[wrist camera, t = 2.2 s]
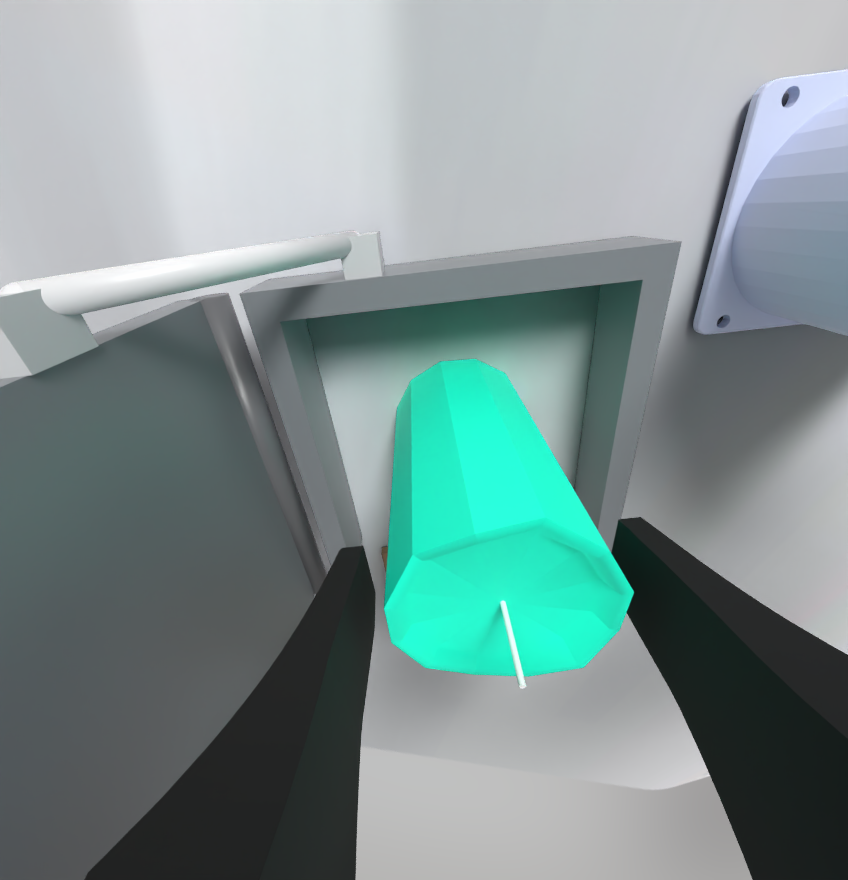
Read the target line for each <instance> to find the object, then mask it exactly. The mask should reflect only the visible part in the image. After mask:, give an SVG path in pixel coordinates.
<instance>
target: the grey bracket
mask: <svg viewBox="0 0 848 880" xmlns="http://www.w3.org/2000/svg"><path fill="white" fill-rule="evenodd" d="M680 247H681V242H680V241H671V240H663V239H654V238H645V237H636V236H630V237H622V238H613V239H605V240H596V241H588V242H579V243H571V244H562V245H554V246H545V247H537V248H528V249H520V250H512V251H503V252H495V253H486V254H478V255H469V256H461V257H452V258H444V259H435V260H427V261H418V262H410V263H402V264H393V265H385V266H384V259H383V252H382V245H381V238H380V231H378V232H370V233H362V234H359V233H358V232H356V231H345V232H339V233H332V234H326V235H319V236H312V237H306V238H299V239H293V240H286V241H280V242H273V243H267V244H260V245H254V246H247V247H241V248H234V249H227V250H221V251H214V252H208V253H201V254H195V255H188V256H182V257H175V258H169V259H162V260H155V261H149V262H142V263H136V264H129V265H123V266H116V267H110V268H103V269H97V270H90V271H84V272H77V273H70V274H64V275H57V276H51V277H44V278H38V279H31V280H25V281H18V282H13V283H9V284H7V285H5V286H4V287H3V288H2V289H1V290H0V880H84V879H85V877H86V875H87V873H88V872H89V871H90V870H91V869H92V868H93V867H94V866H95V865H96V864H97V863H98V862H99V861H100V860H101V859H102V858H103V857H104V856H105V855H106V854H107V853H108V852H109V851H110V850H111V849H112V848H113V847H114V846H115V845H116V844H117V843H118V842H119V841H120V840H121V839H122V838H123V837H124V835H125V834H126V833H127V832H128V831H129V830H130V829H131V828H132V827H133V826H134V825H135V824H136V823H137V822H138V821H139V820H140V819H141V818H142V817H143V816H144V815H145V814H146V813H147V812H148V811H149V810H150V809H151V808H152V807H153V806H154V805H155V804H156V803H157V802H158V801H159V800H160V799H161V798H162V797H163V795H164V794H165V793H166V792H167V791H168V790H169V789H170V788H171V787H172V786H173V785H174V783H175V782H176V781H177V780H178V779H179V778H180V777H181V776H182V775H183V773H184V772H185V771H186V770H187V769H188V768H189V767H190V766H191V765H192V763H193V762H194V761H195V760H196V759H197V758H198V757H199V756H200V755H201V753H202V752H203V751H204V750H205V749H206V748H207V747H208V746H209V744H210V743H211V742H212V741H213V740H214V739H215V737H216V736H217V735H218V734H219V733H220V731H221V730H222V729H223V728H224V727H225V725H226V724H227V723H228V722H229V720H230V719H231V718H232V717H233V715H234V714H235V713H236V712H237V710H238V709H239V708H240V707H241V705H242V704H243V703H244V702H245V700H246V699H247V698H248V697H249V695H250V694H251V693H252V691H253V690H254V689H255V687H256V686H257V685H258V683H259V682H260V681H261V679H262V678H263V677H264V675H265V674H266V672H267V671H268V670H269V668H270V667H271V665H272V664H273V662H274V661H275V660H276V658H277V657H278V655H279V654H280V652H281V651H282V649H283V648H284V646H285V645H286V643H287V642H288V640H289V638H290V637H291V635H292V634H293V632H294V631H295V629H296V628H297V626H298V625H299V623H300V621H301V620H302V618H303V616H304V615H305V613H306V611H307V610H308V608H309V606H310V604H311V603H312V601H313V598H314V594H316V593H317V592H318V591H319V589H320V587H321V585H322V583H323V581H324V580H325V578H326V576H327V573H326V570H325V567H324V564H323V561H322V559H321V556H320V553H319V550H318V547H317V544H316V541H315V539H314V536H313V533H312V530H311V527H310V524H309V521H308V519H307V516H306V513H305V510H304V507H303V504H302V501H301V499H300V496H299V493H298V490H297V487H296V484H295V482H294V479H293V476H292V473H291V470H290V467H289V464H288V462H287V459H286V456H285V453H284V450H283V447H282V444H281V442H280V439H279V436H278V433H277V430H276V427H275V424H274V422H273V419H272V416H271V413H270V410H269V407H268V404H267V402H266V399H265V396H264V393H263V390H262V387H261V385H260V382H259V379H258V376H257V373H256V370H255V367H254V365H253V362H252V359H251V356H250V353H249V350H248V347H247V345H246V342H245V339H244V336H243V333H242V330H241V327H240V325H239V322H238V319H237V316H236V313H235V310H234V308H233V305H232V302H231V299H230V296H229V294H228V293H219V294H211V295H205V296H201V297H196V298H193V299H189V300H181V301H176V302H174V303H171V304H169V305H166V306H164V307H161V308H159V309H156V310H153V311H151V312H148V313H146V314H143V315H141V316H138V317H135V318H133V319H130V320H128V321H125V322H123V323H120V324H118V325H115V326H112V327H110V328H107V329H105V330H102V331H100V332H97V333H95V334H92V333H91V331H90V329H89V327H88V326H87V324H86V322H85V320H84V318H83V317H82V315H81V314H83V313H87V312H92V311H97V310H101V309H106V308H111V307H115V306H120V305H125V304H129V303H134V302H139V301H143V300H148V299H153V298H157V297H162V296H167V295H171V294H176V293H181V292H185V291H190V290H195V289H199V288H204V287H209V286H213V285H218V284H223V283H227V282H232V281H237V280H241V279H246V278H251V277H255V276H260V275H265V274H269V273H274V272H279V271H283V270H288V269H293V268H297V267H302V266H307V265H311V264H316V263H321V262H325V261H330V260H335V259H339V258H341V261H342V266H343V270H342V271H334V272H325V273H317V274H308V275H300V276H292V277H283V278H275V279H268V280H266V281H264V282H262V283H260V284H258V285H256V286H254V287H252V288H250V289H248V290H246V291H244V292H242V293H240V297H241V300H242V303H243V306H244V309H245V312H246V315H247V317H248V320H249V323H250V326H251V329H252V332H253V335H254V338H255V341H256V344H257V347H258V350H259V353H260V356H261V359H262V362H263V365H264V368H265V371H266V374H267V377H268V380H269V383H270V386H271V389H272V392H273V395H274V398H275V401H276V404H277V407H278V410H279V413H280V416H281V418H282V421H283V424H284V427H285V430H286V433H287V436H288V439H289V442H290V445H291V448H292V451H293V454H294V457H295V460H296V463H297V466H298V469H299V472H300V475H301V478H302V481H303V484H304V487H305V490H306V493H307V496H308V499H309V502H310V505H311V508H312V511H313V514H314V517H315V519H316V522H317V525H318V528H319V531H320V534H321V537H322V540H323V543H324V546H325V549H326V552H327V555H328V558H329V561H330V564H331V566H332V564H333V562H334V560H335V558H336V556H337V554H338V552H339V551H340V549H341V548H345V547H355V546H361V541H362V534H361V530H360V527H359V523H358V519H357V515H356V511H355V507H354V503H353V500H352V496H351V492H350V488H349V484H348V480H347V477H346V473H345V469H344V465H343V461H342V457H341V453H340V450H339V446H338V442H337V438H336V434H335V430H334V427H333V423H332V419H331V415H330V411H329V407H328V403H327V400H326V396H325V392H324V388H323V384H322V380H321V377H320V373H319V369H318V365H317V361H316V357H315V353H314V350H313V346H312V342H311V338H310V334H309V330H308V327H307V323H306V319H307V318H315V317H324V316H333V315H341V314H350V313H359V312H367V311H376V310H385V309H393V308H402V307H411V306H419V305H428V304H437V303H445V302H454V301H463V300H471V299H480V298H489V297H497V296H506V295H515V294H523V293H532V292H541V291H550V290H558V289H567V288H576V287H584V286H593V285H601V286H600V294H599V302H598V310H597V317H596V325H595V333H594V341H593V349H592V357H591V364H590V372H589V380H588V388H587V396H586V404H585V411H584V419H583V427H582V435H581V443H580V450H579V458H578V466H577V474H576V482H575V490H574V491H575V492H576V494H577V496H578V498H579V499H580V501H581V503H582V504H583V506H584V508H585V509H586V511H587V513H588V515H589V516H590V518H591V520H592V521H593V523H594V525H595V526H596V528H597V530H598V532H599V533H600V535H601V537H602V538H603V540H604V542H605V543H606V545H607V547H608V549H609V550H610V552H612V547H613V542H614V538H615V533H616V528H617V524H618V519H621V516H622V512H623V507H624V502H625V498H626V493H627V489H628V484H629V480H630V475H631V470H632V466H633V461H634V457H635V452H636V448H637V443H638V439H639V434H640V429H641V425H642V420H643V416H644V411H645V407H646V402H647V397H648V393H649V388H650V384H651V379H652V375H653V370H654V365H655V361H656V356H657V352H658V347H659V343H660V338H661V333H662V329H663V324H664V320H665V315H666V311H667V306H668V301H669V297H670V292H671V288H672V283H673V279H674V274H675V269H676V265H677V260H678V256H679V251H680Z"/></svg>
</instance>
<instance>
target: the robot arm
mask: <svg viewBox="0 0 848 880" xmlns="http://www.w3.org/2000/svg"><path fill="white" fill-rule="evenodd" d="M786 90H787V91H788V93H789V99H788V101H787V103H786V105H785V106H784V107H783V105H782V104H781V102H782V97H783V95H784V93H785V91H786ZM722 316H723V320H722V322H721V323H720V324H718V325H717V321H718V319H719V318H720V317H722ZM799 324H807V325H810V326H814V327H817V328H821V329H824V330H828V331H831V332H835V333H838V334H842V335H845V336H848V69H847V70H839V71H832V72H824V73H816V74H808V75H800V76H792V77H784V78H778V79H775V80H773V81H770V82H767V83H765V84H763V85H762V86H761V87H760V88H758V90H757V91H756V92H755V94H754V95H753V97H752V100H751V102H750V105H749V109H748V113H747V117H746V120H745V124H744V128H743V132H742V136H741V140H740V144H739V148H738V151H737V155H736V159H735V163H734V167H733V171H732V175H731V179H730V182H729V186H728V190H727V194H726V198H725V202H724V206H723V210H722V213H721V217H720V221H719V225H718V229H717V233H716V237H715V240H714V244H713V248H712V252H711V256H710V260H709V264H708V268H707V271H706V275H705V279H704V283H703V287H702V291H701V295H700V299H699V302H698V306H697V310H696V314H695V318H694V322H693V328H694V330H695V331H697V332H698V333H701V334H704V335H709V334H718V333H727V332H736V331H745V330H754V329H763V328H772V327H781V326H790V325H799ZM611 554H612V555H613V557H614V559H615V560H616V562H617V564H618V566H619V567H620V569H621V571H622V572H623V574H624V576H625V577H626V579H627V581H628V583H629V584H630V586H631V588H632V589H633V591H634V594H633V597H632V599H631V602H630V604H629V607H628V610H627V614H628V616H629V618H630V619H631V621H632V623H633V625H634V626H635V628H636V630H637V632H638V634H639V635H640V637H641V639H642V641H643V642H644V644H645V646H646V648H647V649H648V651H649V653H650V655H651V656H652V658H653V660H654V662H655V664H656V665H657V667H658V669H659V671H660V672H661V674H662V676H663V678H664V679H665V681H666V683H667V685H668V686H669V688H670V690H671V692H672V694H673V696H674V698H675V700H676V702H677V704H678V705H679V707H680V710H681V712H682V714H683V716H684V718H685V720H686V723H687V725H688V727H689V729H690V731H691V733H692V736H693V738H694V740H695V742H696V744H697V746H698V749H699V751H700V753H701V755H702V758H703V760H704V762H705V765H706V767H707V769H708V772H709V774H710V776H711V778H712V781H713V783H714V785H715V788H716V790H717V792H718V794H719V797H720V799H721V802H722V804H723V806H724V809H725V811H726V814H727V816H728V819H729V821H730V823H731V826H732V829H733V831H734V833H735V836H736V838H737V841H738V843H739V846H740V848H741V851H742V853H743V855H744V858H745V861H746V863H747V866H748V868H749V871H750V874H751V876H752V879H753V880H848V655H847V654H845V653H843V652H842V651H840V650H838V649H836V648H834V647H833V646H831V645H829V644H827V643H826V642H824V641H822V640H821V639H819V638H817V637H815V636H814V635H812V634H810V633H809V632H807V631H805V630H804V629H802V628H800V627H798V626H797V625H795V624H793V623H792V622H790V621H788V620H787V619H785V618H784V617H782V616H780V615H779V614H777V613H776V612H774V611H772V610H771V609H769V608H768V607H766V606H765V605H763V604H762V603H760V602H759V601H757V600H756V599H754V598H753V597H751V596H749V595H748V594H746V593H745V592H743V591H742V590H740V589H739V588H737V587H736V586H735V585H733V584H732V583H730V582H729V581H727V580H726V579H724V578H723V577H722V576H720V575H719V574H717V573H716V572H714V571H713V570H712V569H710V568H709V567H707V566H706V565H705V564H703V563H702V562H700V561H699V560H698V559H696V558H695V557H694V556H692V555H691V554H690V553H688V552H687V551H685V550H684V549H683V548H681V547H680V546H679V545H677V544H676V543H675V542H673V541H672V540H671V539H669V538H668V537H667V536H665V535H664V534H663V533H661V532H660V531H659V530H657V529H656V528H655V527H653V526H652V525H651V524H649V523H648V522H646V521H645V520H644V519H642V518H641V517H638V518H628V519H618V524H617V528H616V533H615V538H614V542H613V547H612V552H611ZM374 628H375V589H374V585H373V581H372V578H371V574H370V570H369V566H368V562H367V558H366V555H365V551H364V547H363V546H355V547H345V548H341V549H340V551H339V552H338V554H337V556H336V558H335V560H334V562H333V564H332V566H331V568H330V570H329V572H328V574H327V576H326V578H325V580H324V581H323V583H322V585H321V587H320V589H319V591H318V592H317V594H316V596H315V598H314V599H313V601H312V603H311V604H310V606H309V608H308V610H307V611H306V613H305V615H304V616H303V618H302V620H301V621H300V623H299V625H298V626H297V628H296V629H295V631H294V632H293V634H292V635H291V637H290V638H289V640H288V642H287V643H286V645H285V646H284V648H283V649H282V651H281V652H280V654H279V655H278V657H277V658H276V660H275V661H274V662H273V664H272V665H271V667H270V668H269V670H268V671H267V672H266V674H265V675H264V677H263V678H262V679H261V681H260V682H259V683H258V685H257V686H256V687H255V689H254V690H253V691H252V693H251V694H250V695H249V697H248V698H247V699H246V700H245V702H244V703H243V704H242V705H241V707H240V708H239V709H238V710H237V712H236V713H235V714H234V715H233V717H232V718H231V719H230V720H229V722H228V723H227V724H226V725H225V727H224V728H223V729H222V730H221V731H220V733H219V734H218V735H217V736H216V737H215V739H214V740H213V741H212V742H211V743H210V744H209V746H208V747H207V748H206V749H205V750H204V751H203V752H202V753H201V755H200V756H199V757H198V758H197V759H196V760H195V761H194V762H193V763H192V765H191V766H190V767H189V768H188V769H187V770H186V771H185V772H184V773H183V775H182V776H181V777H180V778H179V779H178V780H177V781H176V782H175V783H174V785H173V786H172V787H171V788H170V789H169V790H168V791H167V792H166V793H165V794H164V795H163V797H162V798H161V799H160V800H159V801H158V802H157V803H156V804H155V805H154V806H153V807H152V808H151V809H150V810H149V811H148V812H147V813H146V814H145V815H144V816H143V817H142V818H141V819H140V820H139V821H138V822H137V823H136V824H135V825H134V826H133V827H132V828H131V829H130V830H129V831H128V832H127V833H126V834H125V835H124V837H123V838H122V839H121V840H120V841H119V842H118V843H117V844H116V845H115V846H114V847H113V848H112V849H111V850H110V851H109V852H108V853H107V854H106V855H105V856H104V857H103V858H102V859H101V860H100V861H99V862H98V863H97V864H96V865H95V866H94V867H93V868H92V869H91V870H90V871H89V872H88V873H87V875H86V877H85V879H84V880H355V874H356V838H357V810H358V787H359V764H360V746H361V731H362V721H363V712H364V705H365V697H366V690H367V682H368V675H369V668H370V660H371V652H372V645H373V637H374Z"/></svg>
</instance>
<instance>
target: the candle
mask: <svg viewBox="0 0 848 880" xmlns="http://www.w3.org/2000/svg"><path fill="white" fill-rule="evenodd" d="M633 594H634V591H633V589H632V588H631V586H630V584H629V583H628V581H627V579H626V577H625V576H624V574H623V572H622V571H621V569H620V567H619V566H618V564H617V562H616V560H615V559H614V557H613V555H612V554H611V552H610V550H609V549H608V547H607V545H606V543H605V542H604V540H603V538H602V537H601V535H600V533H599V532H598V530H597V528H596V526H595V525H594V523H593V521H592V520H591V518H590V516H589V515H588V513H587V511H586V509H585V508H584V506H583V504H582V503H581V501H580V499H579V498H578V496H577V494H576V492H575V491H574V489H573V487H572V486H571V484H570V482H569V481H568V479H567V477H566V475H565V474H564V472H563V470H562V469H561V467H560V465H559V464H558V462H557V460H556V458H555V457H554V455H553V453H552V452H551V450H550V448H549V447H548V445H547V443H546V441H545V440H544V438H543V436H542V435H541V433H540V431H539V430H538V428H537V426H536V424H535V423H534V421H533V419H532V418H531V416H530V414H529V413H528V411H527V409H526V407H525V406H524V404H523V402H522V401H521V399H520V397H519V396H518V394H517V392H516V391H515V389H514V387H513V385H512V384H511V382H510V380H509V379H508V377H507V375H506V374H505V373H504V372H502V371H500V370H498V369H495V368H493V367H491V366H489V365H487V364H485V363H483V362H481V361H479V360H477V359H466V360H453V361H440V362H438V363H437V364H435V365H434V366H432V367H431V368H429V369H428V370H426V371H425V372H423V373H422V374H420V375H418V376H417V377H415V378H414V379H412V380H411V381H410V383H409V385H408V387H407V389H406V391H405V393H404V395H403V397H402V399H401V401H400V403H399V405H398V407H397V415H396V431H395V446H394V462H393V477H392V493H391V508H390V524H389V539H388V555H387V570H386V586H385V601H384V611H385V615H386V620H387V624H388V629H389V633H390V638H391V643H392V644H394V645H395V646H396V647H398V648H399V649H400V650H402V651H403V652H405V653H406V654H407V655H409V656H410V657H411V658H413V659H414V660H415V661H417V662H418V663H419V664H421V665H422V666H423V667H425V668H430V669H437V670H444V671H451V672H459V673H466V674H473V675H500V676H517V680H518V684H519V688H521V689H524V688H526V683H525V679H524V676H528V677H529V676H535V675H541V674H548V673H554V672H560V671H566V670H573V669H579V668H584V667H585V666H586V665H587V664H588V663H589V662H590V661H591V659H592V658H593V657H594V656H595V655H596V654H597V653H598V652H599V651H600V650H601V649H602V648H603V647H604V646H605V645H606V644H607V643H608V642H609V641H610V640H611V639H612V637H613V636H614V635H615V634H616V633H617V632H618V631H619V630H620V628H621V625H622V623H623V620H624V617H625V615H626V612H627V610H628V607H629V604H630V602H631V599H632V597H633Z"/></svg>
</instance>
